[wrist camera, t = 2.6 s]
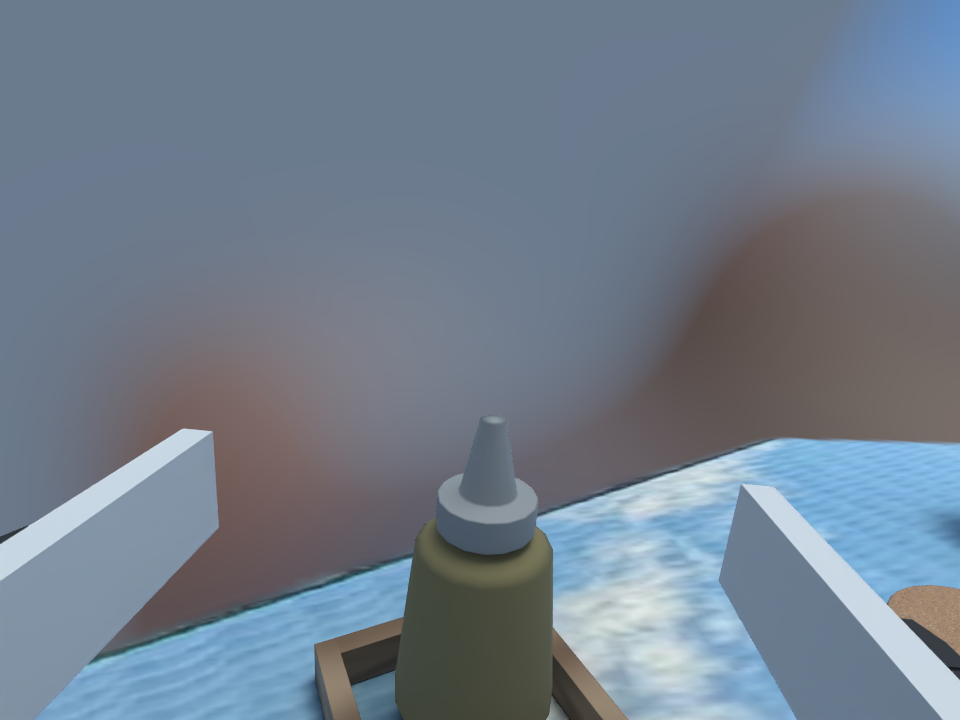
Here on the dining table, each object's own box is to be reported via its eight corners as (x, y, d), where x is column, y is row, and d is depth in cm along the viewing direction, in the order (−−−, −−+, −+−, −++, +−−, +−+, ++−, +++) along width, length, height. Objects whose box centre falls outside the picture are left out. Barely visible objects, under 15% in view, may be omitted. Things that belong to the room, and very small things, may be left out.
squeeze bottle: (376, 812, 24) (382, 453, 19) (406, 665, 32) (416, 384, 27) (552, 828, 24) (603, 470, 19) (539, 676, 32) (573, 396, 27)
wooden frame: (655, 801, 25) (663, 762, 24) (385, 969, 19) (386, 923, 18) (512, 612, 36) (515, 582, 36) (315, 679, 30) (314, 644, 30)
